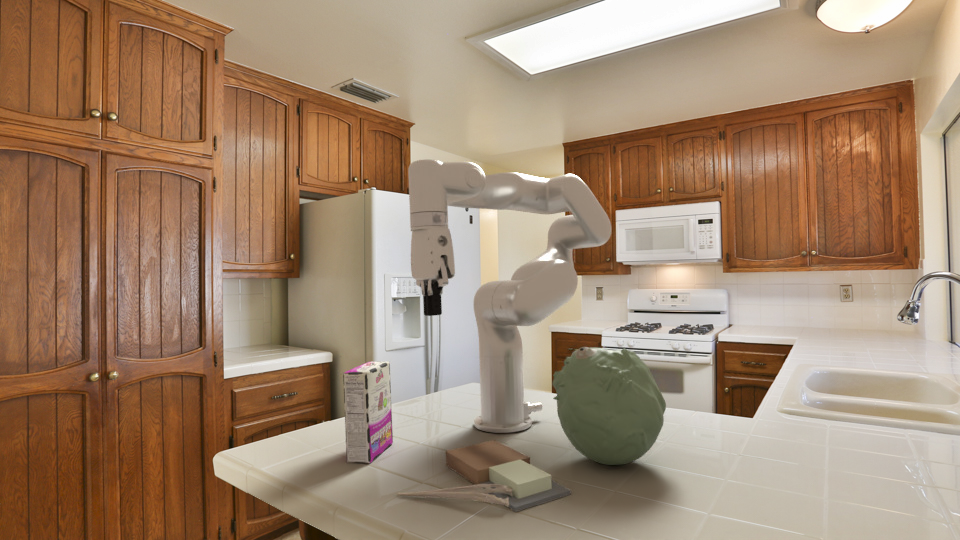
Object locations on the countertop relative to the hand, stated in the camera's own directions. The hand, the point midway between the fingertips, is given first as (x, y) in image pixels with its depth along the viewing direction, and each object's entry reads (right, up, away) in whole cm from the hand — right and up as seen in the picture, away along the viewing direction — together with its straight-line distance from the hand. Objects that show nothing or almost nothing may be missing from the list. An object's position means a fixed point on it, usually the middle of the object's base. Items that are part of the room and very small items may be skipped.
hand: (432, 314), depth 100 cm
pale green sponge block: (+15, -23, -23) cm, 36 cm away
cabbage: (+32, -24, -13) cm, 42 cm away
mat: (+16, -24, -24) cm, 38 cm away
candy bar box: (-11, -26, -5) cm, 29 cm away
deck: (+11, -25, -15) cm, 31 cm away
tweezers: (+5, -25, -27) cm, 37 cm away
